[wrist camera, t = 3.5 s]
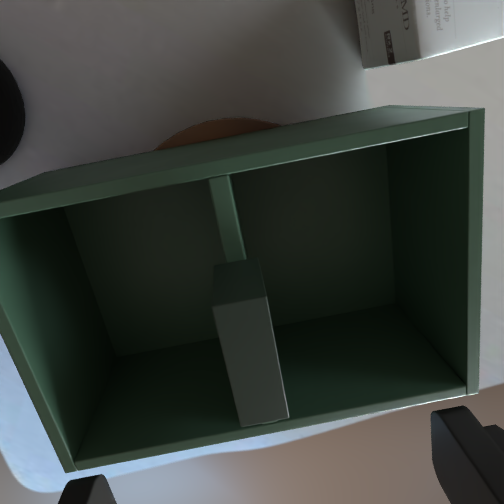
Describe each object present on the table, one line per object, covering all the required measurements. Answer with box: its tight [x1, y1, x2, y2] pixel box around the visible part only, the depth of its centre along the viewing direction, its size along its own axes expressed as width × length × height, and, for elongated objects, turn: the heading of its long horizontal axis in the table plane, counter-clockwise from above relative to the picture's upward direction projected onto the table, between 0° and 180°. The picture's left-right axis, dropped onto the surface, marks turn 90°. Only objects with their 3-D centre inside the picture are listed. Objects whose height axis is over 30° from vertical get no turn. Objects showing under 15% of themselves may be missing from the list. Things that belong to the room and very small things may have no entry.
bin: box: [0, 105, 485, 473], centre depth 20 cm, size 20×13×12 cm, turn 100°
